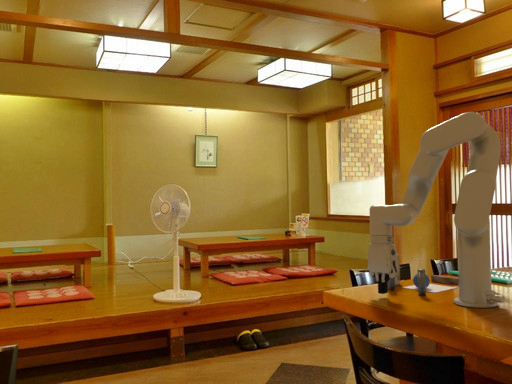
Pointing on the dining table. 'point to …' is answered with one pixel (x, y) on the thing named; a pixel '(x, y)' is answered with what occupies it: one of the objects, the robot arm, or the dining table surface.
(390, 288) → the far post
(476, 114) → the robot arm
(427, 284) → the ball
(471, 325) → the dining table surface
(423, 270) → the near post
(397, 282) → the skincare box
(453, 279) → the strip
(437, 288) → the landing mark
